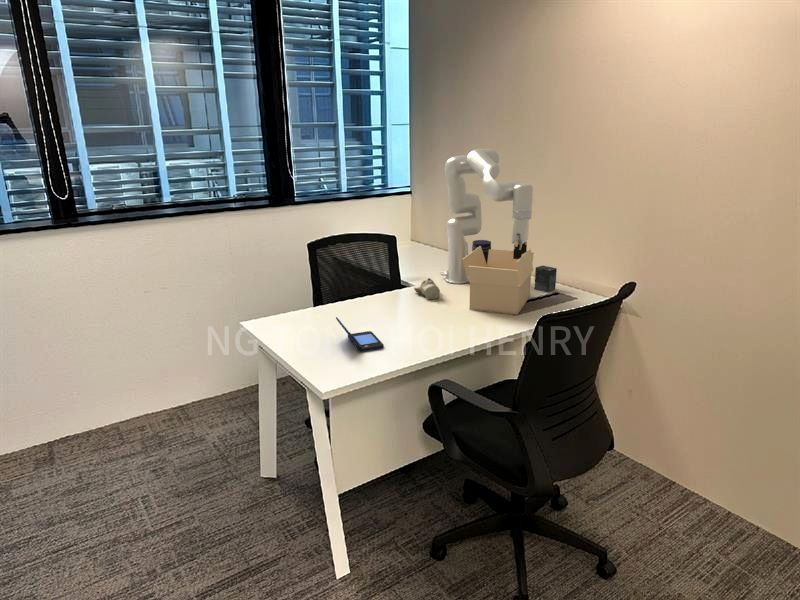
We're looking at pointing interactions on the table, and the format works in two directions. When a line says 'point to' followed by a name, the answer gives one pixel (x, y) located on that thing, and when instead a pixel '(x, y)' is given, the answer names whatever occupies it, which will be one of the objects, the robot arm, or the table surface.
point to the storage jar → (484, 245)
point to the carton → (495, 282)
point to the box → (545, 278)
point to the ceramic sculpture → (428, 289)
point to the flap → (524, 266)
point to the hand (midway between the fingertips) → (519, 256)
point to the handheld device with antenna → (363, 340)
